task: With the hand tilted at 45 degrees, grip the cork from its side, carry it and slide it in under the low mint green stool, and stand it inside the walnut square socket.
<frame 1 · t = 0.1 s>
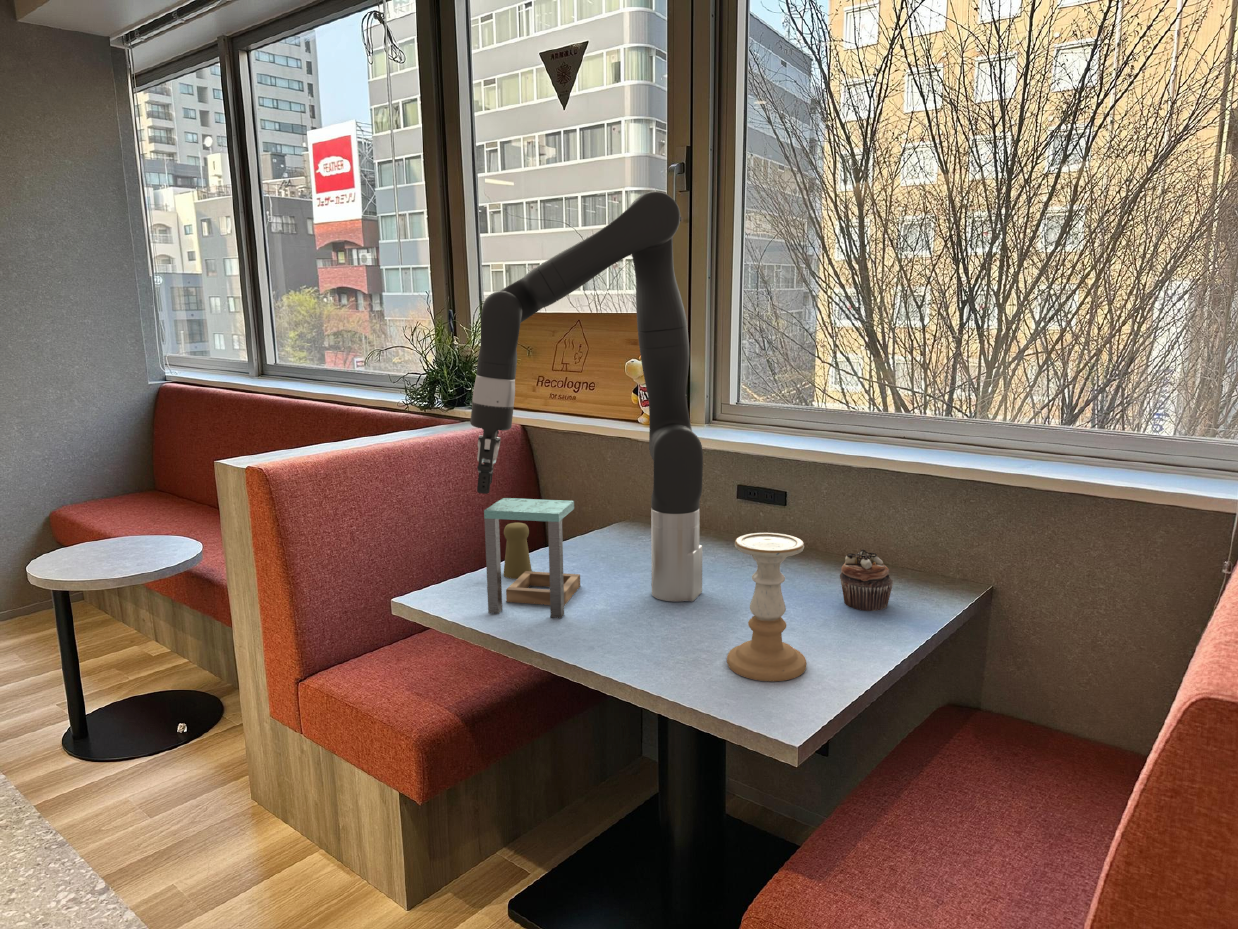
hand: (484, 488, 158), 22 cm above the table, tool pointing down, fingers open, 8 cm apart
cupcake: (865, 604, 160), on the table
cork: (517, 575, 179), on the table
socket: (544, 594, 167), on the table
candle holder: (766, 666, 133), on the table
mint green stool: (531, 556, 158), on the table
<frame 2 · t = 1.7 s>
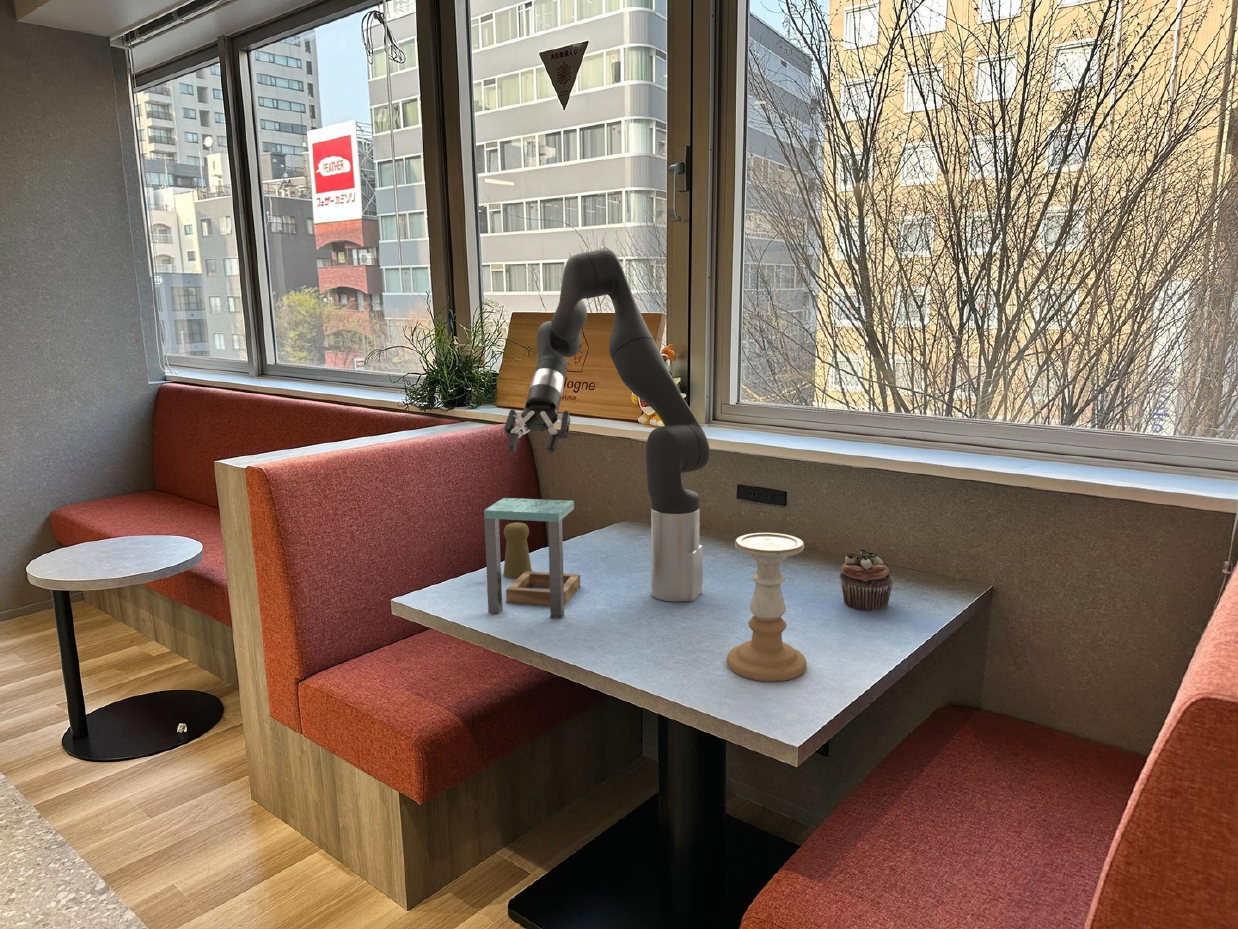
hand: (531, 451, 186), 24 cm above the table, tool tilted 45°, fingers open, 8 cm apart
nothing on the table moved.
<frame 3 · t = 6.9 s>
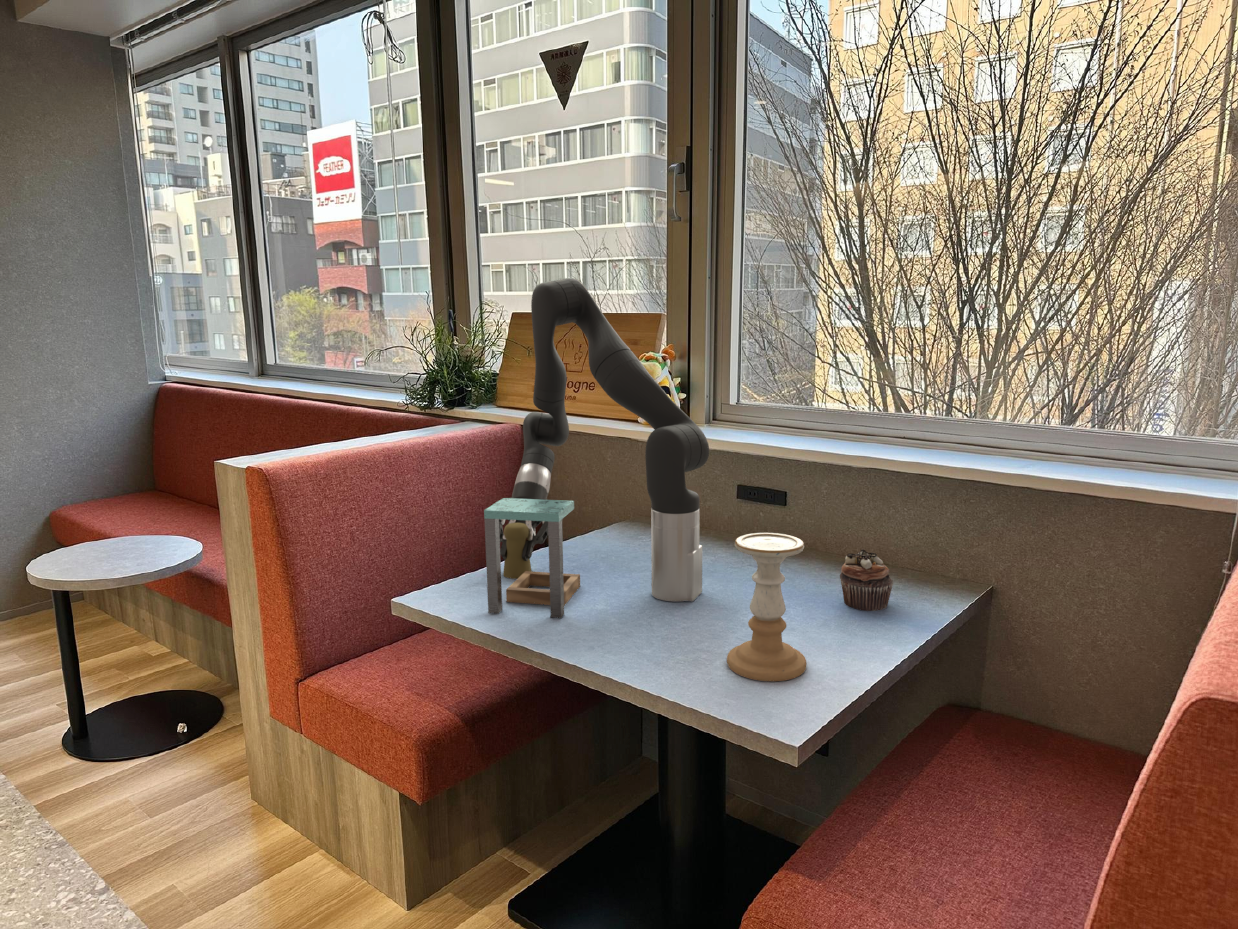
hand: (514, 558, 176), 4 cm above the table, tool tilted 45°, fingers closed on cork, 3 cm apart
cork: (517, 575, 179), on the table, touching gripper
everything else where it was.
when the fingers open (5 cm above the table, at t = 13.6 s): cork drops 1 cm, resting in socket.
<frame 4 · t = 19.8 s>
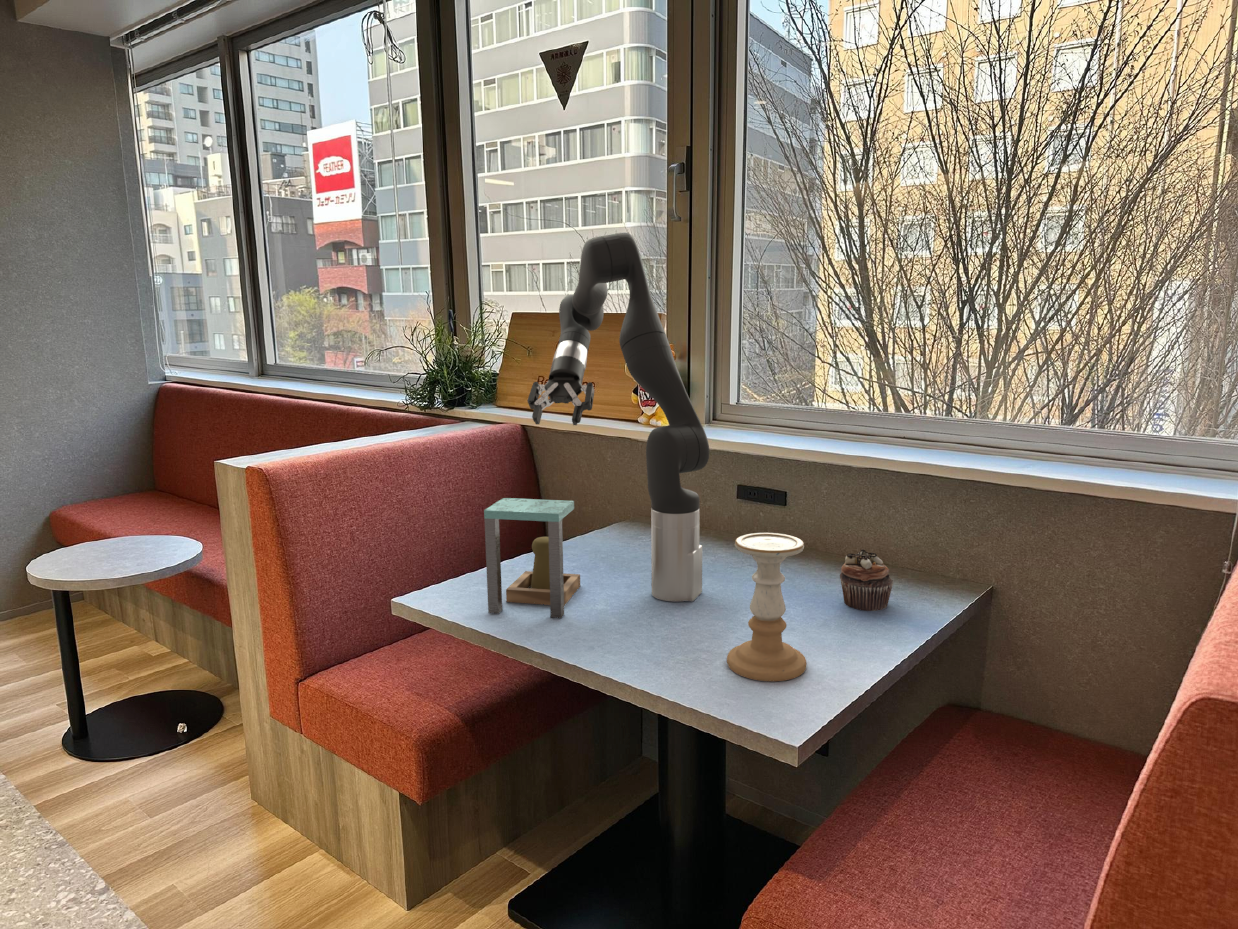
hand: (555, 422, 184), 31 cm above the table, tool tilted 45°, fingers open, 8 cm apart
cork: (545, 592, 168), resting in socket
everything else where it was.
at the end: cork 1.1 cm off-centre on the socket, point 0.0 cm above the socket's base; cork tilted 1°; the gripper is holding nothing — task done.
